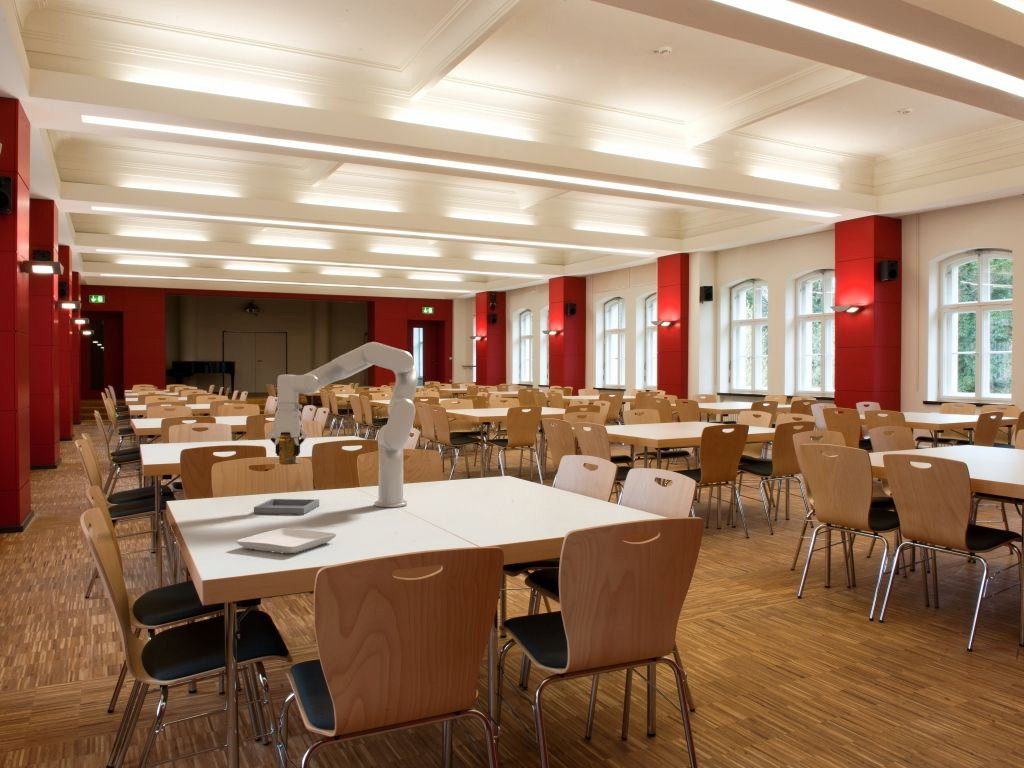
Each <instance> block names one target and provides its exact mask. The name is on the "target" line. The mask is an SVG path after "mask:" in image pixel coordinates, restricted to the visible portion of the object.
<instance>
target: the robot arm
mask: <svg viewBox="0 0 1024 768" xmlns="http://www.w3.org/2000/svg"><path fill="white" fill-rule="evenodd" d="M414 364H415V359H414V357H413V355H412V354H411V353H410V352H409V351H406V350H404V349H399V348H396V347H393V346H390V345H387V344H384V343H380V342H376V341H371V342H366V343H365V344H363V345H361V346H359V347H357V348H354V349H353V350H349V351H347V352H346V353H344V354H341V355H339V356H338V357H336V358H334V359H332V360H331V361H329V362H327V363H325V364H323V365H321V366H319V367H318V368H315V369H313V370H311V371H309V372H307V373H305V374H298V375H297V374H280V375H278V376H277V396H276V397H277V399H276V400H277V410H276V411H275V414H274V419H273V425H272V427H273V428H272V429H271V430H270V431H269V432H268V433H267V435H266V436H267V437H268V439H269V440H270V441H271V442H272V443H273V444H274V446H275V454H276V457H279V439H280V436H281V432H290V433H291V437H292V438H294V441H295V443H296V445H295V446H294V456H296V457H298V456H300V453H301V446H302V445H301V444H302V443H304V442H305V441H306V439H308V437H309V436H310V435H309V433H308V432H306V430H305V429H304V425H303V416H302V411H300V409H302V408H303V404H300V403H299V394H304V395H312V394H313V395H314V394H315V393H317V392H318V391H319V390H320V389H321V388H324V387H325V386H328V385H330V384H332V383H334V382H335V383H336V382H337V381H341V380H345V379H348V378H349V377H351V376H353V375H355V374H358V373H359V372H362V371H364V370H366V369H368V368H369V367H372V366H373V365H374V366H377V367H380V368H384V369H386V370H390V371H392V372H393V373H394V375H395V383H394V388H393V391H392V395H391V397H390V400H389V403H388V407H387V414H388V418H387V423H386V424H385V425H383V426H382V427H381V428H380V429H379V431H378V434H377V444H378V445H377V447H378V449H377V450H378V497H377V498H378V500H375V501H374V502H373V503H374V506H375V507H378V508H400V507H405V506H407V505H408V501H407V500H404V447H405V446H406V444H408V443H407V442H408V440H409V438H410V434H411V432H412V427H413V425H414V421H415V417H416V411H417V410H416V406H415V403H414V399H415V396H416V391H417V389H418V388H417V387H418V382H419V378H418V377H419V376H418V371H417V369H416V367H415V365H414ZM300 437H301V438H300Z"/></svg>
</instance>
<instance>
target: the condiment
mask: <svg viewBox="0 0 1024 768" xmlns="http://www.w3.org/2000/svg"><path fill="white" fill-rule="evenodd" d="M295 445H296V443H295V441H294V438H292V437H291V433H290V432H281V436H280V439H279V456H278V458H279V459H278V460H279V461H278V463H277V462H276V464H277V465H280V466H289V465H297V464H302V462H300V461H297V456H294V446H295Z"/></svg>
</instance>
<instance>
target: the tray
mask: <svg viewBox="0 0 1024 768" xmlns="http://www.w3.org/2000/svg"><path fill="white" fill-rule="evenodd" d="M316 507H317V508H319V507H320V499H314V498H313V499H311V498H309V499H308V498H305V499H304V498H302V499H301V498H270V499H269V500H267V501H264V502H262V503H260V504H257V505H256V506H253V515H279V514H302V515H301V516H305V515H306V514H308V513H310V512H312V511H313V510H315V509H317V508H316ZM311 510H312V511H311ZM309 511H310V512H309ZM304 514H305V515H304Z"/></svg>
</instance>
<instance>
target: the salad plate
mask: <svg viewBox="0 0 1024 768" xmlns="http://www.w3.org/2000/svg"><path fill="white" fill-rule="evenodd" d="M336 536H337V533H335V532H334V533H333V532H328V531H327V532H325V531H319V530H312V529H310V530H309V529H301V528H299V529H297V528H287V527H286V528H285V527H282V528H277V529H273V530H270V531H266V532H261V533H257V534H254V535H250V536H248V537H244V538H243V537H242V538H240V539H237V540H235V542H236V544H237V545H239V546H241V547H243V548H246V549H248V550H252V549H254V550H253V551H257V550H263V551H262V552H265V551H274V552H283V553H294V554H296V553H295V552H298V553H300V552H299V551H301V552H303V551H302V550H304V551H306V550H305V549H307V550H309V549H308V548H310V549H313V548H315V546H316V547H319V546H322V545H324V544H326V543H329V542H331V540H333V539H335V537H336ZM321 544H322V545H321ZM318 545H319V546H318ZM312 547H313V548H312ZM274 552H273V553H274Z"/></svg>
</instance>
